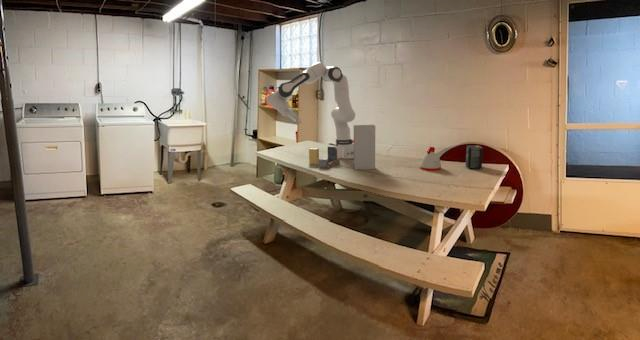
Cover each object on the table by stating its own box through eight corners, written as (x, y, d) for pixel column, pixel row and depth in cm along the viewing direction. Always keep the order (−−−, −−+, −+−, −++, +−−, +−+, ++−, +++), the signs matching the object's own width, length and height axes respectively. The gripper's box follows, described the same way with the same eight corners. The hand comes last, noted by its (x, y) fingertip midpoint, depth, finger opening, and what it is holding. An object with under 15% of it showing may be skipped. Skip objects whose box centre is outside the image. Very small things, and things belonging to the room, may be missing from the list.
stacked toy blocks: (327, 162, 311) (326, 145, 308) (339, 163, 307) (339, 146, 304) (315, 168, 293) (314, 150, 290) (328, 169, 289) (328, 151, 286)
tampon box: (482, 169, 279) (483, 147, 276) (467, 169, 281) (468, 147, 278) (479, 165, 290) (480, 145, 287) (465, 165, 292) (466, 144, 288)
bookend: (320, 166, 295) (320, 158, 293) (328, 167, 292) (328, 158, 291) (318, 167, 292) (318, 159, 291) (326, 168, 290) (326, 159, 288)
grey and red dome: (444, 168, 285) (445, 146, 282) (433, 171, 276) (434, 149, 273) (427, 165, 295) (428, 144, 292) (415, 168, 286) (416, 147, 283)
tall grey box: (373, 167, 293) (374, 124, 287) (375, 169, 288) (375, 125, 281) (353, 167, 293) (353, 125, 286) (354, 169, 288) (354, 126, 281)
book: (311, 163, 309) (311, 148, 306) (319, 164, 307) (318, 148, 304) (309, 165, 306) (308, 148, 303) (316, 165, 303) (316, 149, 300)
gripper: (287, 104, 290) (303, 117, 290) (289, 108, 310) (304, 120, 310) (282, 111, 290) (297, 124, 290) (284, 115, 310) (298, 127, 310)
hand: (301, 122), depth 300 cm, fingers open, 8 cm apart
